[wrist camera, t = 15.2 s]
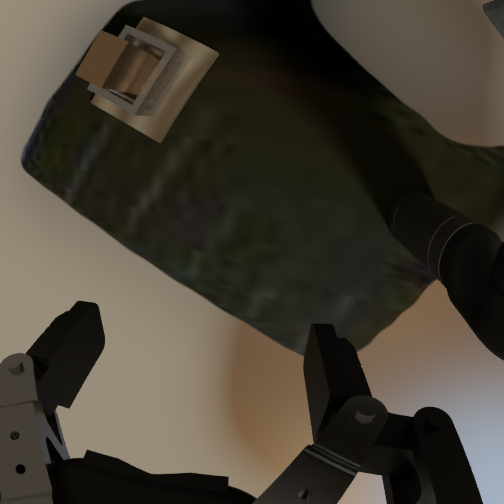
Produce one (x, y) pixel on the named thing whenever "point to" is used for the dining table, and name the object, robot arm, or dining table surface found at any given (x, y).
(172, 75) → the collar frame
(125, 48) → the tan wooden post
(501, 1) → the hip flask
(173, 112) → the holder board
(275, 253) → the dining table surface
